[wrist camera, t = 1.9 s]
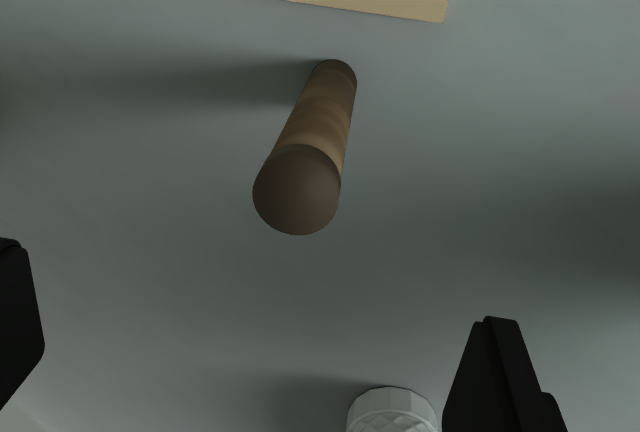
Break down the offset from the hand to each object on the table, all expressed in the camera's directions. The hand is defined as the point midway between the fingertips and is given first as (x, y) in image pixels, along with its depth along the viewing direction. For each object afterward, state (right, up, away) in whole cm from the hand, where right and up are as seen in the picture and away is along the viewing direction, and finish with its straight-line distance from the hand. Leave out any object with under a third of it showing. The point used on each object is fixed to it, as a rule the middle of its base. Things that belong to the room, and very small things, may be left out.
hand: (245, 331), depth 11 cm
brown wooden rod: (+2, +10, +18) cm, 20 cm away
